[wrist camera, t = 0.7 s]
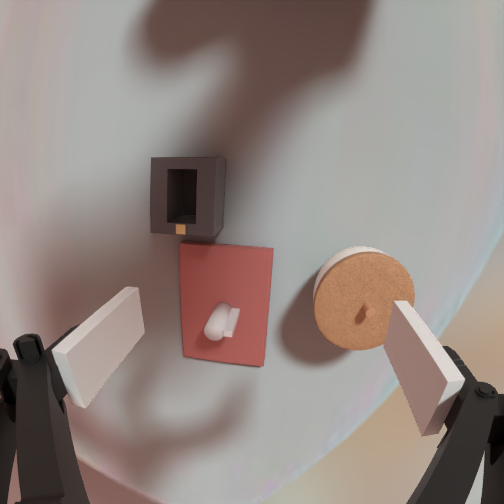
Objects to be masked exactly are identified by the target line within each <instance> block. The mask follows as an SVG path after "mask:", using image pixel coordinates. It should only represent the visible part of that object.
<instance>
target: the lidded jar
mask: <svg viewBox="0 0 504 504" xmlns="http://www.w3.org/2000/svg"><path fill="white" fill-rule="evenodd" d="M414 297H415V293H414V286H413V282H412V279H411V277H410V275H409V273H408V272H407V270H406V269H405V268H404V267H403V266H402V265H401V264H400V263H399V262H398V261H397V260H395V259H394V258H392V257H391V256H389V255H388V254H386V253H385V252H382V251H380V250H378V249H375V248H371V247H365V246H355V247H350V248H346V249H344V250H341V251H339V252H338V253H336V254H334V255H333V256H332V257H331V258H329V259H328V260H327V261H326V263H325V264H324V265H323V267H322V268H321V270H320V271H319V274H318V276H317V278H316V281H315V285H314V292H313V311H314V317H315V321H316V324H317V326H318V329H319V330H320V332H321V333H322V335H323V336H324V337H325V338H326V339H327V340H329V341H330V342H331V343H333V344H335V345H336V346H338V347H341V348H344V349H349V350H366V349H371V348H374V347H377V346H380V345H382V344H384V343H385V339H386V335H387V330H388V326H389V321H390V317H391V312H392V307H393V302H394V301H408V303H409V304H410V305H411V306H412V308H413V305H414Z"/></svg>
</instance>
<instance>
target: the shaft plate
mask: <svg viewBox="0 0 504 504" xmlns="http://www.w3.org/2000/svg"><path fill="white" fill-rule="evenodd" d="M273 249H274V248H265V247H253V246H240V245H227V244H214V243H201V242H188V241H182V242H181V243H180V291H181V315H182V334H183V350H184V356H187V357H193V358H199V359H206V360H213V361H221V362H229V363H237V364H246V365H256V366H264V358H265V347H266V335H267V324H268V312H269V300H270V288H271V275H272V262H273Z"/></svg>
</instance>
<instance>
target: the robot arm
mask: <svg viewBox="0 0 504 504" xmlns="http://www.w3.org/2000/svg"><path fill="white" fill-rule="evenodd" d="M144 333H145V330H144V323H143V317H142V310H141V302H140V295H139V288H137V287H127V286H126V287H125V288H124V289H123V290H121V291H120V292H119V293H118V294H116V295H115V296H114V297H113V298H112V299H110V300H109V301H108V302H107V303H106V304H104V305H103V306H102V307H101V308H100V309H98V310H97V311H96V312H95V313H94V314H92V315H91V316H90V317H89V318H88V319H87V320H85V321H84V322H83V323H82V324H81V325H80V324H79V325H77V326H75V327H73V328H71V329H70V330H68V331H67V332H66V333H65V334H64V335H62V336H61V337H60V338H59V340H57V341H56V342H54V343H53V344H52V345H51V346H50V347H49V348H47V349H46V350H45V351H44V348H43V344H42V341H41V338H40V336H39V335H37V334H25V335H22V336H20V337H18V338H17V339H16V340H15V341H14V343H13V346H14V349H15V352H16V354H17V357H18V360H12V359H10V357H9V354H8V352H7V350H5V349H0V396H1V399H0V504H7V499H8V492H9V485H10V479H11V472H12V467H13V462H14V457H15V453H16V449H17V464H18V474H19V484H20V492H21V501H20V502H15V504H90V503H89V500H88V497H87V494H86V490H85V487H84V484H83V481H82V477H81V474H80V470H79V466H78V463H77V459H76V455H75V451H74V446H73V442H72V437H71V432H70V428H69V422H68V417H67V411H66V405H65V402H64V400H63V398H64V396H65V395H66V394H68V396H69V399H70V401H71V403H72V404H74V405H77V406H80V407H83V408H86V407H87V406H88V405H89V403H90V402H91V401H92V400H93V398H94V397H95V396H96V394H97V393H98V392H99V390H100V389H101V388H102V387H103V385H104V384H105V383H106V381H107V380H108V379H109V377H110V376H111V375H112V374H113V372H114V371H115V370H116V369H117V367H118V366H119V365H120V363H121V362H122V361H123V360H124V358H125V357H126V356H127V355H128V353H129V352H130V351H131V350H132V348H133V347H134V346H135V345H136V343H137V342H138V341H139V340H140V338H141V337H142V336H143V335H144ZM384 349H385V351H386V353H387V356H388V358H389V360H390V362H391V364H392V367H393V369H394V371H395V373H396V375H397V378H398V380H399V382H400V385H401V387H402V389H403V391H404V394H405V396H406V399H407V401H408V403H409V406H410V408H411V411H412V413H413V415H414V418H415V420H416V423H417V425H418V428H419V431H420V433H421V436H427V435H433V434H438V433H439V431H440V430H441V428H442V426H443V424H444V423H445V425H446V427H447V432H446V433H445V435H444V437H443V438H442V440H441V442H440V444H439V445H438V447H437V448H438V449H437V451H436V453H435V455H434V457H433V459H432V461H431V463H430V465H429V466H428V468H427V470H426V472H425V474H424V475H423V477H422V479H421V481H420V483H419V484H418V486H417V487H416V489H415V491H414V492H413V494H412V495H411V497H410V499H409V500H408V502H407V503H406V504H465V502H466V499H467V497H468V495H469V493H470V490H471V488H472V485H473V483H474V480H475V477H476V474H477V472H478V469H479V466H480V463H481V460H482V457H483V454H484V451H485V460H484V476H483V488H482V497H481V504H504V394H498V392H497V391H496V389H495V388H494V387H493V386H491V385H490V384H488V383H485V382H477V380H476V379H475V377H474V376H473V375H472V373H471V372H470V370H469V369H468V368H467V366H466V365H465V364H464V362H463V361H462V360H461V359H460V357H459V356H458V355H457V353H456V352H455V351H454V350H452V349H451V348H450V347H448V346H441V344H440V343H439V342H438V340H437V339H436V338H435V336H434V335H433V334H432V332H431V331H430V330H429V328H428V327H427V326H426V324H425V323H424V322H423V320H422V319H421V318H420V317H419V315H418V314H417V313H416V311H415V310H414V309H413V308H412V306H411V305H410V304H409V303H408V301H394V302H393V307H392V312H391V317H390V321H389V326H388V330H387V335H386V339H385V343H384Z"/></svg>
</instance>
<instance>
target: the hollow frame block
mask: <svg viewBox="0 0 504 504" xmlns="http://www.w3.org/2000/svg"><path fill="white" fill-rule="evenodd" d="M183 169H197V194H196V216H190V215H182V187H183ZM225 172H226V159H223V158H210V157H158V158H151V188H150V216H151V233H163V234H177V235H191V236H205V237H214V236H215V235H216V234H217V233H218V232H219V231H220V230H221V229H222V228H223V221H224V195H225Z"/></svg>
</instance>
